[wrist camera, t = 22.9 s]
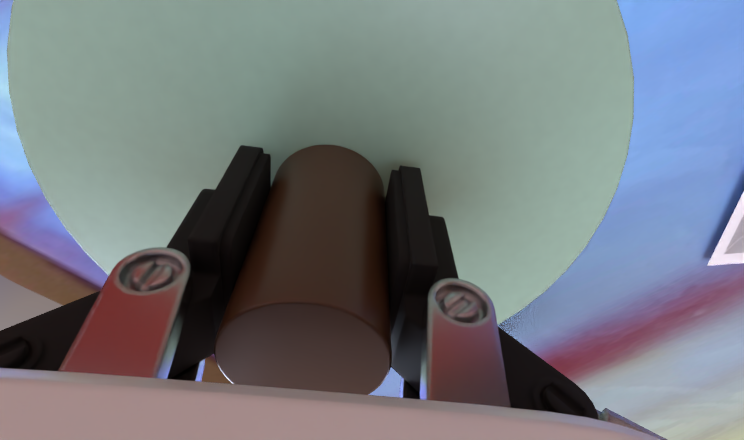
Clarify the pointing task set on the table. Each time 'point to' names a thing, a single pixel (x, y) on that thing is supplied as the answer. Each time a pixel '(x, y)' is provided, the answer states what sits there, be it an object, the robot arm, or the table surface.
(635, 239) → the table surface
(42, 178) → the pot lid
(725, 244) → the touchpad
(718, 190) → the table surface
